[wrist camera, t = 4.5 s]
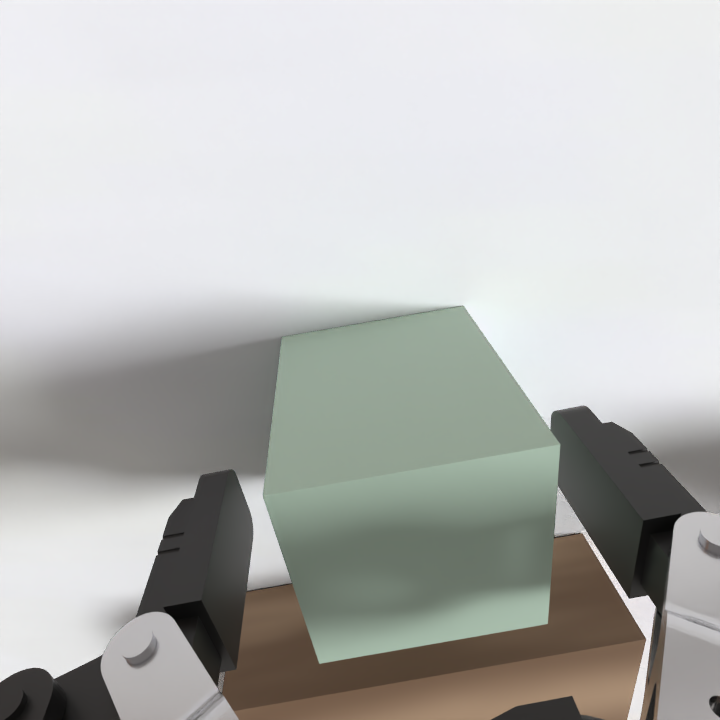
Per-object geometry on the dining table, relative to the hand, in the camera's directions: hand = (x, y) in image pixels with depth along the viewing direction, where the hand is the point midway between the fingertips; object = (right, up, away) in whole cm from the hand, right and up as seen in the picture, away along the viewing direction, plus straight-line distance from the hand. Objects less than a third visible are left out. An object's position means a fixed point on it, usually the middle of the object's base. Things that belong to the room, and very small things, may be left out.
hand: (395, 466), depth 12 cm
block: (0, +2, +2) cm, 3 cm away
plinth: (+2, -10, +9) cm, 14 cm away
